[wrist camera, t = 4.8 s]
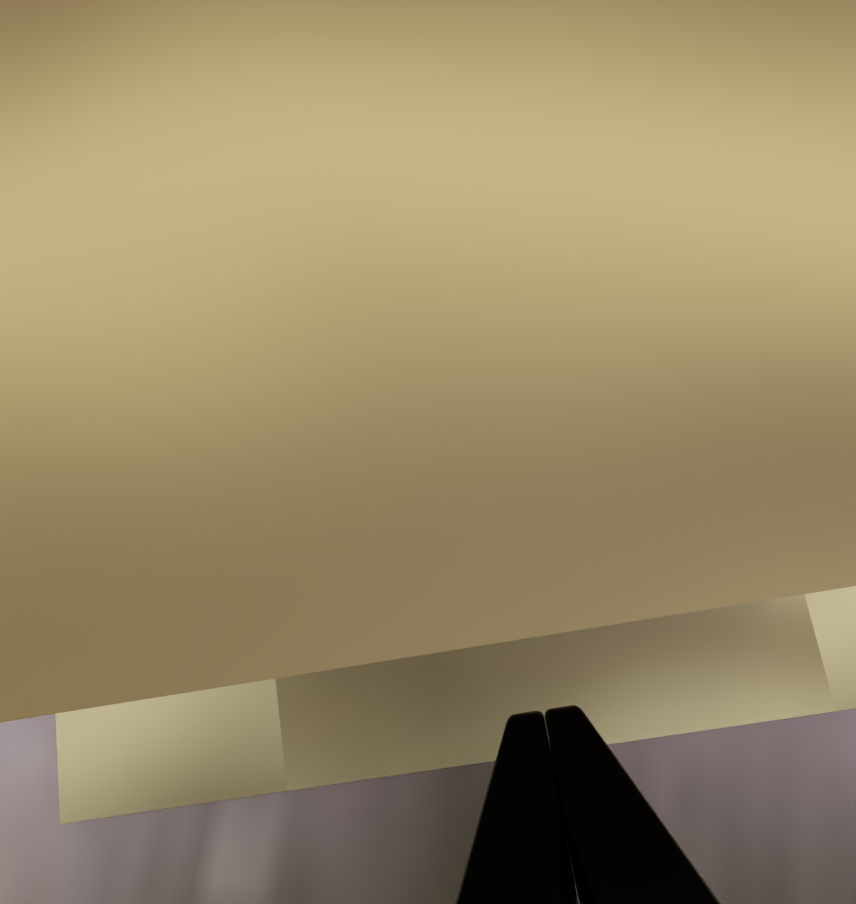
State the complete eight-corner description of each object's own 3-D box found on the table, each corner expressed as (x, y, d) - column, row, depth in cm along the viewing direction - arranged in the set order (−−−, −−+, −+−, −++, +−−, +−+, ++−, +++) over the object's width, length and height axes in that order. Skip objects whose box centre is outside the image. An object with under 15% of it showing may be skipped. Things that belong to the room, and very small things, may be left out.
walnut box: (779, 587, 15) (1199, 530, 6) (294, 665, 16) (-49, 730, 7) (627, 8, 19) (732, -649, 9) (231, 100, 20) (-60, -409, 10)
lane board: (1091, 669, 15) (1289, 687, 11) (73, 818, 17) (-64, 877, 13) (749, -316, 21) (799, -529, 17) (31, -125, 23) (-71, -278, 19)
